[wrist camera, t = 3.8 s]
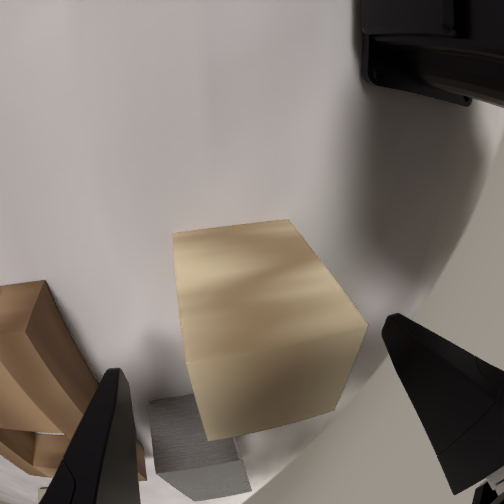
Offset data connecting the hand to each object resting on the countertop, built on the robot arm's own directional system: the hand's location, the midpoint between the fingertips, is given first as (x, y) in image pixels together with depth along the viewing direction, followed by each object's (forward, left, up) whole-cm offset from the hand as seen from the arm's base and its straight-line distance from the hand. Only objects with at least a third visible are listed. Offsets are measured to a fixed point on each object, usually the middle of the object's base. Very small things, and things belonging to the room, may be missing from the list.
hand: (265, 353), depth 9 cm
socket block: (+14, +8, -4) cm, 16 cm away
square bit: (0, 0, -5) cm, 5 cm away
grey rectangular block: (+3, +13, -5) cm, 14 cm away
